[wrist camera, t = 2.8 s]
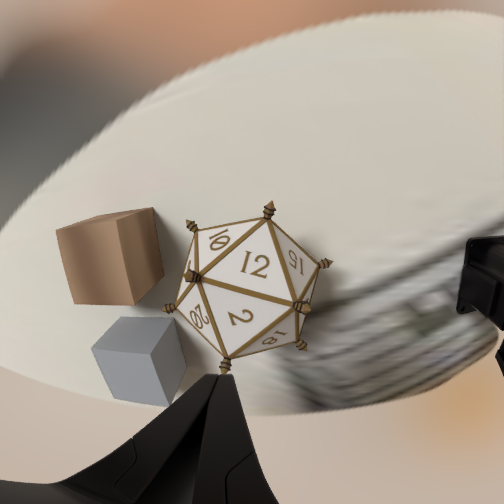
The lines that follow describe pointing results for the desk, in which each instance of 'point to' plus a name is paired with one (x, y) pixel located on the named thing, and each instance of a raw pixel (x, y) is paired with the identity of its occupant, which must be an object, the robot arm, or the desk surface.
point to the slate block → (141, 360)
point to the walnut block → (111, 257)
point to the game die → (246, 287)
